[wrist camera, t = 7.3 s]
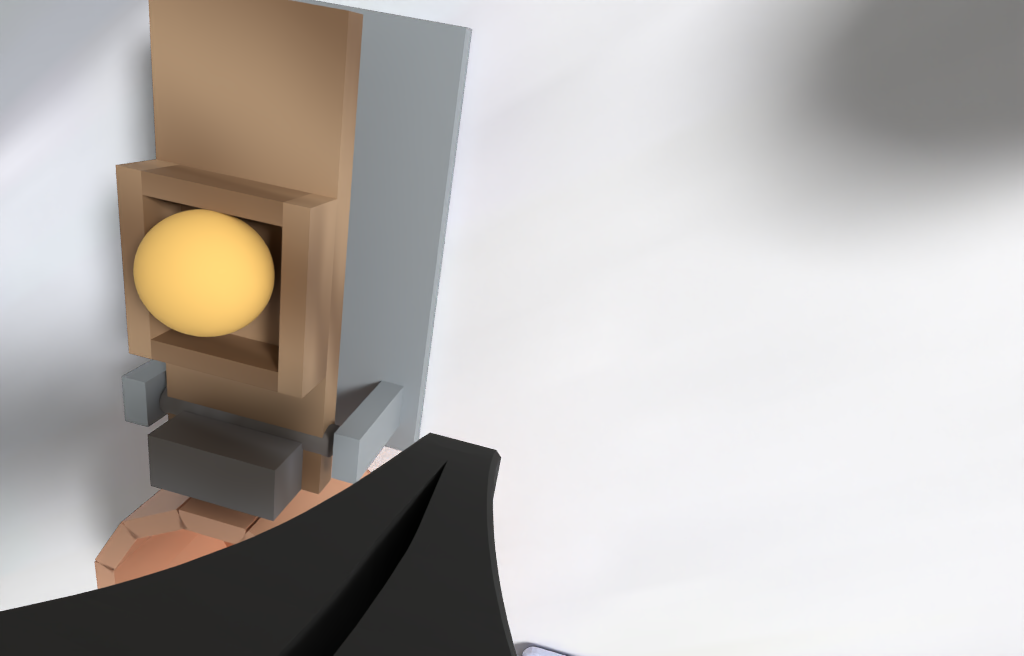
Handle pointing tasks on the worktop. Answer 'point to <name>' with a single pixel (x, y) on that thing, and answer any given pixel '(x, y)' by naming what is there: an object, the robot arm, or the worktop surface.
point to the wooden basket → (187, 532)
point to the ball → (204, 273)
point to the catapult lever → (273, 215)
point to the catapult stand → (382, 237)
